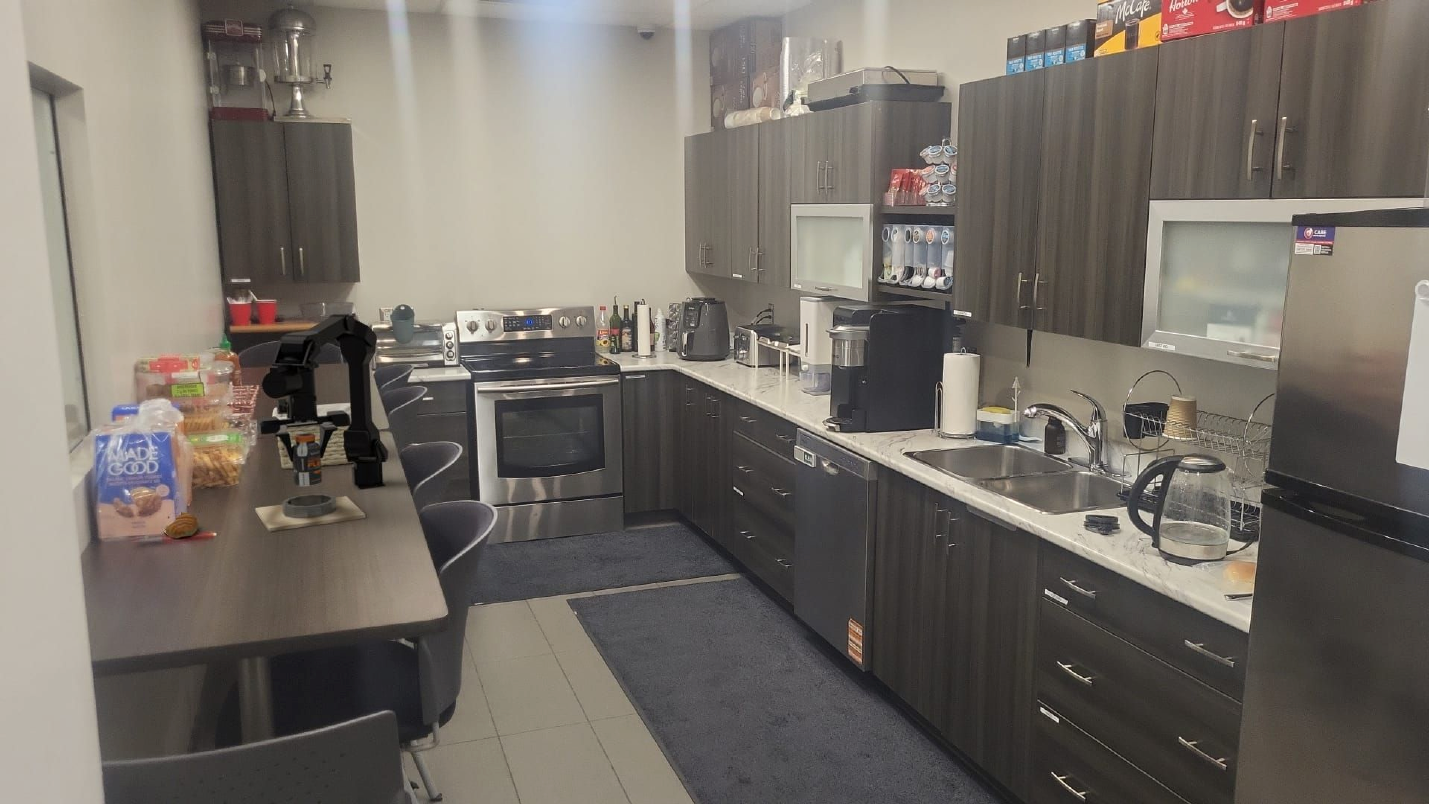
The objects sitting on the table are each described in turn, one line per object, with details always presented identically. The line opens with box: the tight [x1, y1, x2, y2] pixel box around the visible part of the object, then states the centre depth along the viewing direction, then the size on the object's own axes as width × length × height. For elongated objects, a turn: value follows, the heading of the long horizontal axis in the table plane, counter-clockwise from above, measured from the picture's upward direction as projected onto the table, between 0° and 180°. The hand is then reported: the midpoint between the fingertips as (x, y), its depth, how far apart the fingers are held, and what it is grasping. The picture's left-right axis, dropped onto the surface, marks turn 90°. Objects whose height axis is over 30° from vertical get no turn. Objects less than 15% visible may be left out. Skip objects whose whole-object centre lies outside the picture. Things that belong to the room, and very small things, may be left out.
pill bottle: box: [292, 433, 323, 487], centre depth 232 cm, size 6×6×11 cm
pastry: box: [165, 511, 200, 539], centre depth 220 cm, size 9×7×4 cm
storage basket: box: [271, 402, 354, 470], centre depth 284 cm, size 24×16×15 cm
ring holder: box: [255, 493, 366, 533], centre depth 234 cm, size 20×18×3 cm
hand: (306, 459), depth 232 cm, fingers closed on pill bottle, 6 cm apart
